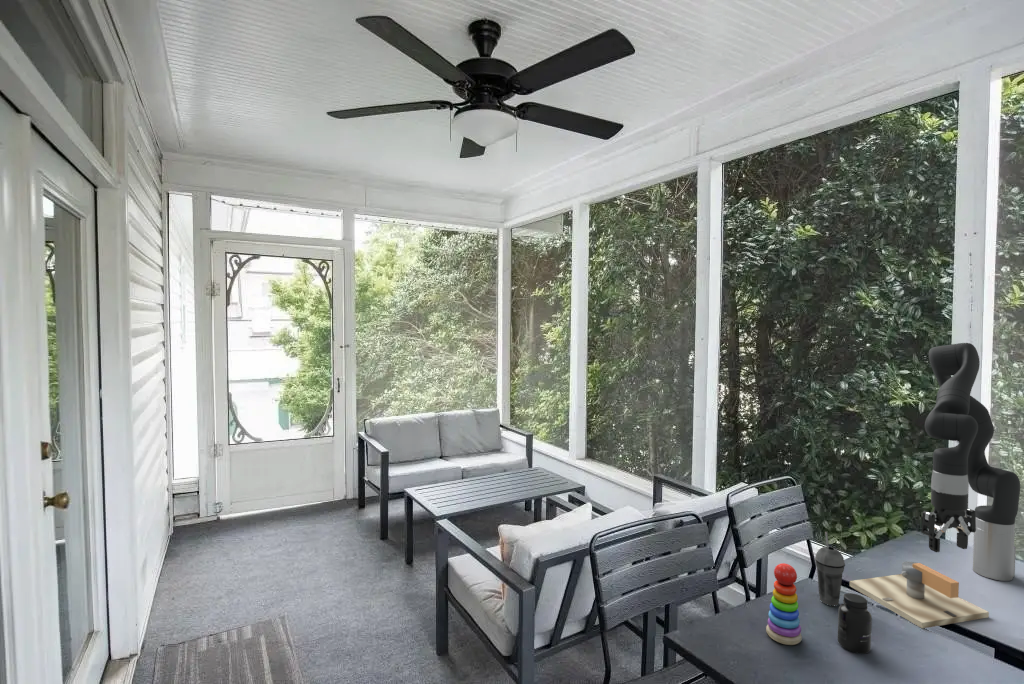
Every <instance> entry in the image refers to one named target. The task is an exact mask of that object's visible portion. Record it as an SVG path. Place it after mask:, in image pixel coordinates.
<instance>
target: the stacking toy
mask: <svg viewBox="0 0 1024 684" xmlns="http://www.w3.org/2000/svg"><path fill="white" fill-rule="evenodd" d="M773 575H774V577H775V579H776V580H775V581H774V582H773V588H774V589H772V597H771V599H770V601H771V602H770V604H769V611H768V619H767V625H766V626H765V628H766V629H765V631H766V634H767V635H768V637H770V639H772V640H773V641H775V642H777V643H779V644H783V645H787V646H795V645H798V644H799V643H801V641H802V640H803V639H802V638H803V636H802V626H801V624H800V623H801V622H800V620H801V619H800V618H799V616H800V612H799V603H798V600H799V597H798V594H797V586H796V585H795V583H796V581H797V578H798V574H797V571H796V569H795V568H794V567H793V566H792V565H791V564H788V563H784V562H783V563H778V564H777V565H776V566H775V567H774V569H773Z"/></svg>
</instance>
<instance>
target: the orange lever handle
mask: <svg viewBox="0 0 1024 684" xmlns="http://www.w3.org/2000/svg"><path fill="white" fill-rule="evenodd" d="M901 574H902V576H903V577H905V578H907V579H909V580H911V581H915V582H919V583H923V584H925V585H927V586H929V587H931V588H932V589H934V590H936V591H938V592H940V593H942V594H944V595H946V596H947V597H949V598H957V597H959V593H960V591H959V589H960V588H959V586H960V583H959V581H957V580H955V579H953V578H951V577H949V576H947V575H945V574H943V573H940V572H938V571H937V570H934V569H933V568H931V567H929V566H927V565H924V564H922V563H921V562H915V561H903V562H901Z"/></svg>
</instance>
